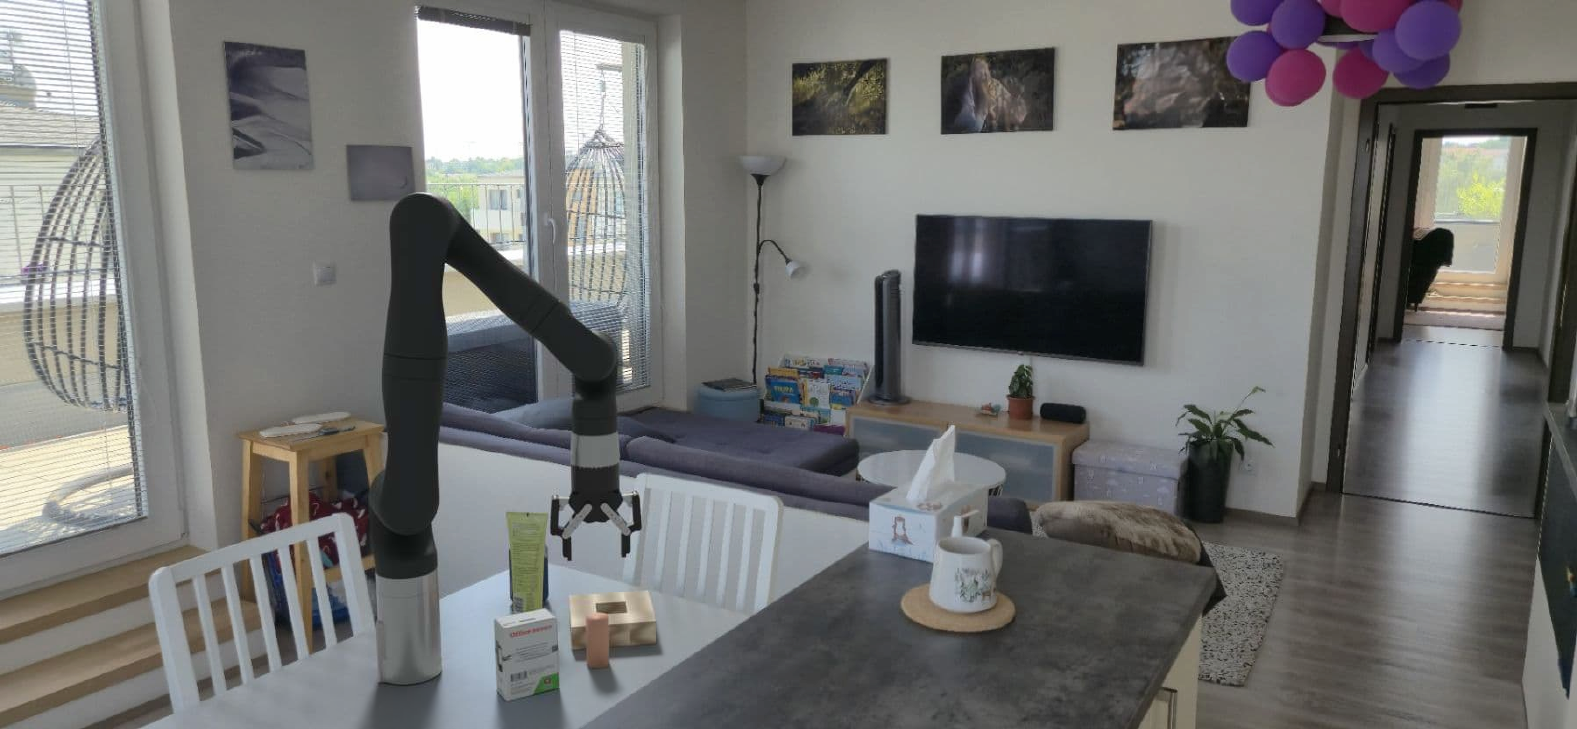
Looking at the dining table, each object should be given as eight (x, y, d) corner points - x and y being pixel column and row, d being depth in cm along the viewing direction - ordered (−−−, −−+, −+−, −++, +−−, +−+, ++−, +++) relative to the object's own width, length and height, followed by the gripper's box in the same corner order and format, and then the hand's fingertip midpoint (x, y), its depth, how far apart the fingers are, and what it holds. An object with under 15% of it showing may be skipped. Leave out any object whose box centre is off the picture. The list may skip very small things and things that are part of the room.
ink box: (548, 676, 175) (547, 605, 173) (560, 689, 171) (559, 616, 169) (495, 689, 171) (492, 616, 169) (505, 702, 167) (503, 628, 165)
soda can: (555, 597, 207) (553, 535, 205) (538, 611, 200) (537, 548, 198) (520, 593, 209) (519, 532, 207) (503, 607, 202) (501, 544, 200)
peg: (587, 669, 178) (586, 622, 177) (586, 659, 181) (585, 613, 180) (609, 667, 179) (609, 620, 177) (608, 658, 182) (607, 611, 181)
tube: (537, 608, 202) (535, 505, 198) (550, 617, 198) (548, 512, 194) (508, 616, 198) (505, 510, 195) (521, 625, 194) (518, 518, 191)
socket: (571, 649, 185) (571, 627, 184) (569, 616, 198) (569, 595, 198) (655, 643, 188) (655, 621, 187) (648, 611, 201) (648, 590, 201)
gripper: (638, 451, 179) (639, 547, 182) (548, 454, 176) (550, 552, 179) (642, 463, 172) (643, 563, 175) (548, 467, 169) (551, 568, 172)
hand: (596, 557), depth 177 cm, fingers open, 8 cm apart
